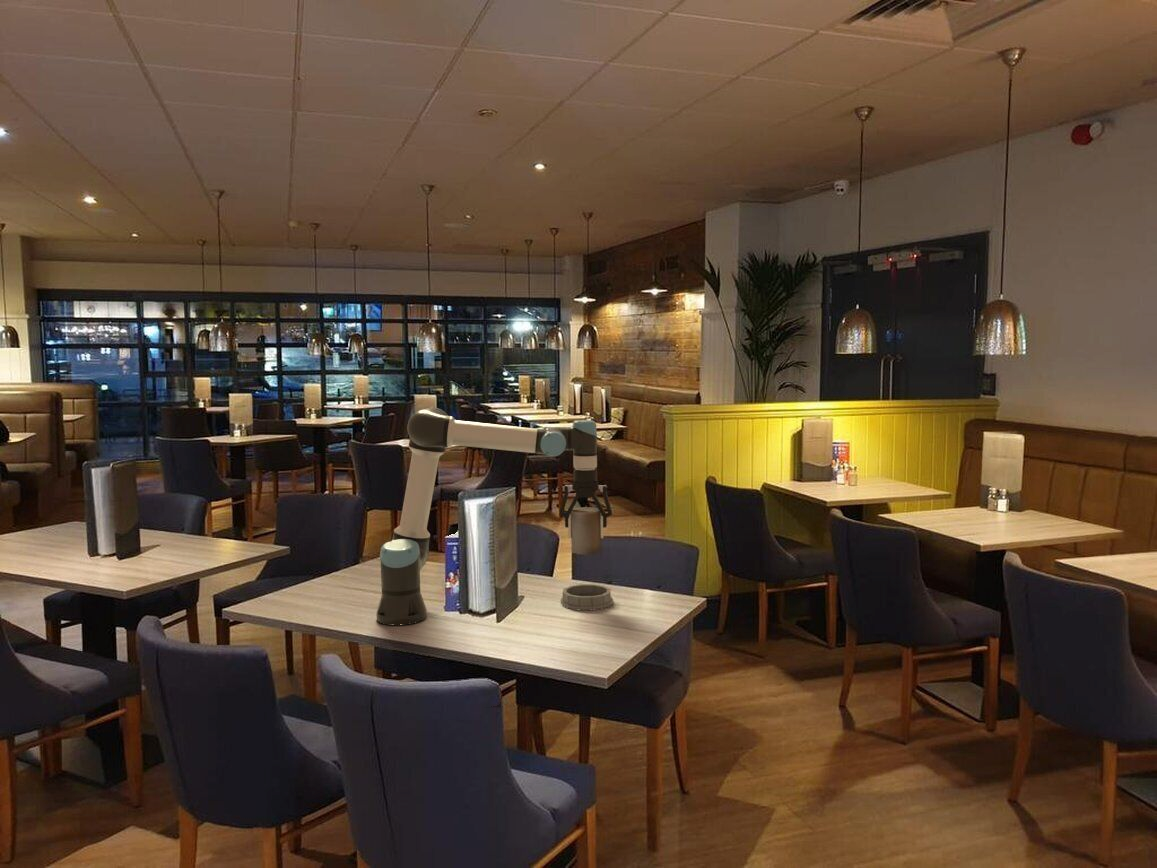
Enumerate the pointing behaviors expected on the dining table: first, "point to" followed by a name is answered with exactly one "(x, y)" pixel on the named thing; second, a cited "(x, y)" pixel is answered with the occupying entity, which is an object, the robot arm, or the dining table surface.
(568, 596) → the candle dish
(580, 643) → the dining table surface
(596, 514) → the pillar candle
